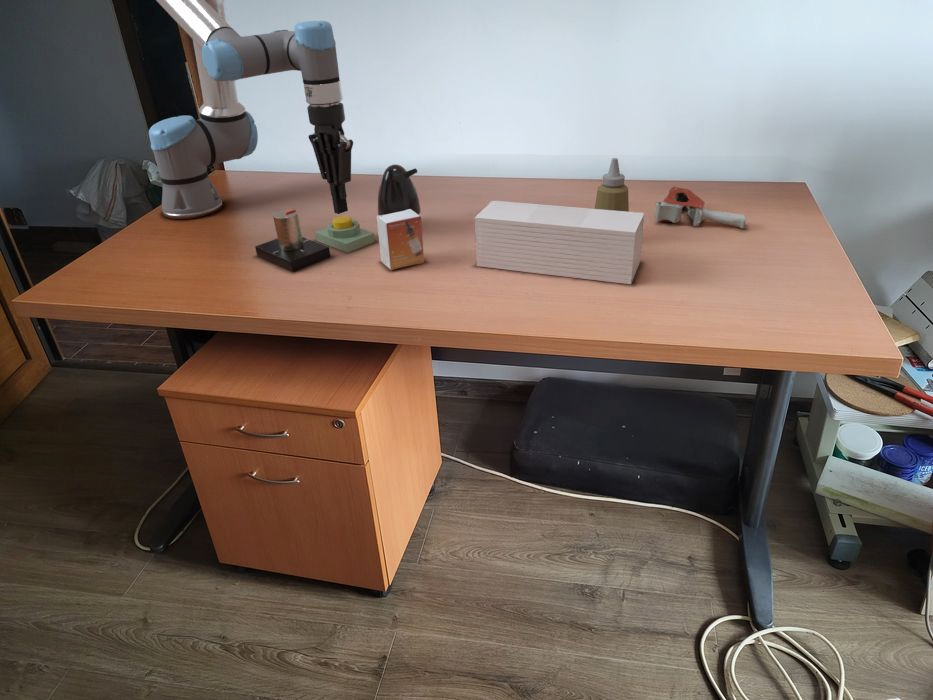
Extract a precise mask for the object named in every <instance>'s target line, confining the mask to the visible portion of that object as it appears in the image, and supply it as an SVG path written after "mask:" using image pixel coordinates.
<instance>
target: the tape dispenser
mask: <svg viewBox="0 0 933 700" xmlns="http://www.w3.org/2000/svg"><path fill="white" fill-rule="evenodd" d="M686 212H687V215H688V216H689V217H690V218H691V219H692V226H694V227H699V226H700V224H701V223H702V222H703V221H709V222H713V223H718V224H721V225H726V226H727V225H728V226H732V227H736V228H740V229H745V226H746V224H747V223H746V222H747V218H746V215H745V214H744V213H735V212H734V213H733V212H728V211H727V212H726V211H720V210H712V209H706V207H705V201H704V200H703V199H702V198H700V197H699V196H698V195H697V194H695V193H694V192H693V191H692V190H690V189H688V188H683V187H677V186H673V187H671V188H670V189H668V193H667V195H666V196H665V198H664V199H663V200H661V201H656V202H655V207H654V218H655V220H656V221H658V222H660V221H661V222H664V223H665V222H668V223H671V222H672V223H674V224H675V223H678V222H680V220H681V218H682V213H686Z"/></svg>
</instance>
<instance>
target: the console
mask: <svg viewBox="0 0 933 700" xmlns="http://www.w3.org/2000/svg"><path fill="white" fill-rule="evenodd" d="M302 239H303V247H302V248H300V249H297V250H293V251H283V250H281V249H280V247H279V243H278V238H275V239H272V240H269V241H266V242H263V243H261V244H258V245H255V246H254V249H255V253H256V257H257V258H260V259H262V260H263V261H266V262H268V263H270V264H272V265H275V266H278V267H280V268H282V269H284V270H287V271H289V272H291V273H295V272H297V271H300V270H303V269H305V268H308V267H310V266H312V265H315V264H317V263H321V262H323V261H325V260H328V259H331V250H330V246H328V245H326V244H323V243H320V242H318V241H314V240H311V239H309V238H306V237H304V236H302Z"/></svg>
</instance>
